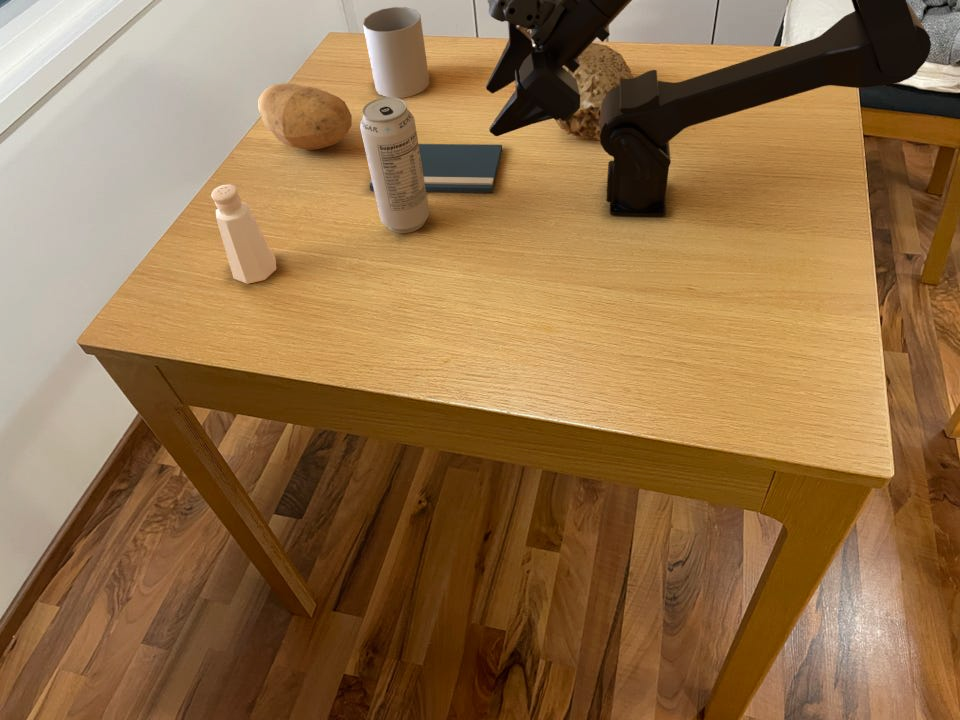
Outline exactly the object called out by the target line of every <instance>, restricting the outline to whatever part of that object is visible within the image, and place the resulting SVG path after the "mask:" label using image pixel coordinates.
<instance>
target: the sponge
mask: <svg viewBox="0 0 960 720" xmlns="http://www.w3.org/2000/svg"><path fill="white" fill-rule="evenodd" d="M578 59H579V63H580V66H579V67H578V68H577V69H576V70H575V71H574V73H573V72H571V71H570V70H569V69H568V68H567V67H566V66H565V65H564V66H563V68H564V69H565V70H566V71H567V72H569V73H570V74H571V75H572V76H573V77H574V78H576V81H577V85H578V89H579V93H580V109H579V110H578V111H577V112H576V113H575V114H574V115H573V116H572V117H571V118H570V119H569V120H568V121H563V120H562V119H559V120H555V123H556V124H557V126H558V127H559V129H561V130H563V133H564V134H566V135H569V136H570V135H572V136H573V137H577V138H578V137H579V138H587V139H589V138H591V136H592V138H593V139H597V140H598V141H599V142H601V141H600V109H601V104H602V101H603V100H604V98H605V96H606V95H607V92H609V91H610V90H611V89H612V88H614V87H617V86H619V85H620V79H630V78H635V77H634V75H633V74H632V70H631V68H630V66H629V65H628V64H627V61H626V60H625V59H624V57H623V55H622V53H619V52H618V51H616V50H615V49H613V48H611V47H610V46H608V45H606V44H600V43H597V42H592V43H591V44H590V45H589V46H588V47H587V48H586V49H585V51H584V52H583V53H582V54H581V55H580V56H579V57H578Z"/></svg>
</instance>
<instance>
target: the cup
mask: <svg viewBox="0 0 960 720" xmlns="http://www.w3.org/2000/svg"><path fill="white" fill-rule="evenodd" d="M362 26H363V33H364V37H365V43H366V47H367V52H368V58H369V62H370V67H371V72H372V78H373V83H374V88H375V91H376V92H377V93H378V94H379V95H381V96H383V97H394V98H399V99H404V98H408V97H409V98H410V97H413V96H416V95H417V94H420V93H422V92H424V91H425V90H426V89H427V88H428V87H429V85H430V73H429V68H428V60H427V53H426V47H425V39H424V31H423V23H422V16H421V14H420V12H419V11H418V10H416V9H414V8H411V7H407V6H405V7H404V6H392V7H387V8H381V9H379V10H376V11H374V12H371V13H369V14H368V15H367V16H366V17H365V18H364V19H363V22H362Z"/></svg>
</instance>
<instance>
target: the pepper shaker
mask: <svg viewBox="0 0 960 720" xmlns="http://www.w3.org/2000/svg"><path fill="white" fill-rule="evenodd" d="M210 194H211V195H210V198H211V199H212V200H213V201H214V204H215V207H216V208H217V209H215V218H216V219H215V220H216V223H217V226H218V230H219V233H220V237H221V240H222V244H223V248H224V251H225V254H226V257H227V261H228V264H229V269H230V272H231V274H232V277H233V279H234V280H236V281H238V282H242V283H244V284H246V285H250V284H253V283H258V282H262V281H266V280H267V279H268V278H269V277H270V276H271V275H272V274H273V273H274V272H275V271H276V270H277V261H276V260H277V259H276V256H275V255H274V253H273V251H272V249H271V247H270V245H269V243H268V241H267V239H266V237H265V235H264V233H263V231H262V230H261V227H260V226H259V224H258V222H257V220H256V217H255V215H254V214H253V212H252V210H251V208H250V207H249V205H248V203H246V202H243V201H242V200H241V199H242V198H241V196H240V194H239V190H238V187H237V186H235V185H234V184H221V185H219V186H217V187H215V188H214V189H213V190H212V192H211V193H210Z"/></svg>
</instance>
